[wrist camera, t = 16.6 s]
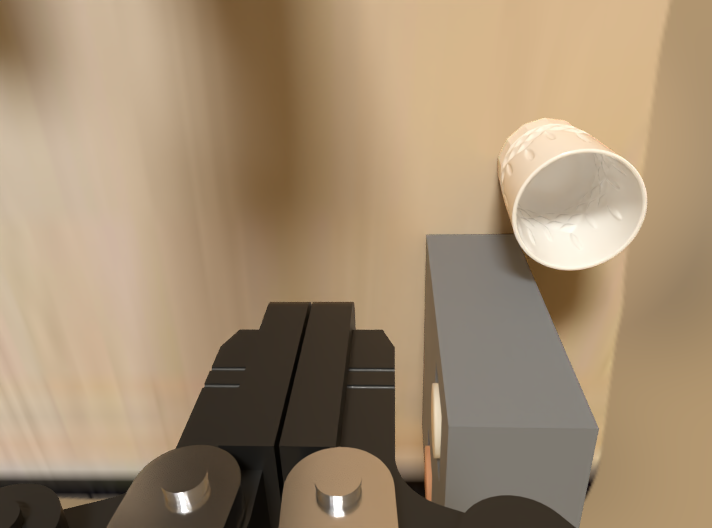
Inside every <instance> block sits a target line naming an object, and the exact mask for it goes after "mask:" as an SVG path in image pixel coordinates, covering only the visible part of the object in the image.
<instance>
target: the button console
mask: <svg viewBox="0 0 712 528" xmlns="http://www.w3.org/2000/svg"><path fill="white" fill-rule="evenodd" d="M432 383H438V385H439V395H440V405H441V414H442V423H441V447H440V458H434V457H433V448H432V430H431V392H432ZM422 429H423V446H424V463H425V446H430V455H431V469H432V496H431V502H434V503H436V504H439V505H442V506H445V507H448V508H451V509H454V510H458V511H461V512H464V513H465V512H466V511H467V510H468V509H469V508H470V507H471V506H473V505H474V504H475V503H477V502H479V501H481V500H483V499H486V498H489V497H494V496H500V495H513V496H521V497H525V498H529V499H532V500H535V501H537V502H540V503H542V504H544V505H546V506H548V507H550V508H551V509H553V510H554V511H555V512H557V513H558V514H560V515H561V516H562V517H563V518H565V519H566V520H567V521H568V522H570V523H571V524H572V525H573V526H574V527H576V528H579V525H580V520H581V515H582V510H583V505H584V500H585V495H586V490H587V485H588V480H589V475H590V470H591V465H592V460H593V455H594V450H595V445H596V440H597V435H598V430H599V428H598V426H597V423H596V421H595V419H594V416H593V414H592V412H591V409H590V407H589V405H588V402H587V400H586V398H585V395H584V393H583V391H582V389H581V386H580V384H579V382H578V379H577V377H576V375H575V372H574V370H573V368H572V365H571V363H570V361H569V358H568V356H567V354H566V351H565V349H564V347H563V345H562V342H561V340H560V338H559V335H558V333H557V331H556V328H555V326H554V324H553V321H552V319H551V317H550V314H549V312H548V310H547V307H546V305H545V303H544V301H543V298H542V296H541V294H540V291H539V289H538V287H537V284H536V282H535V280H534V277H533V275H532V273H531V270H530V268H529V266H528V263H527V261H526V259H525V256H524V254H523V252H522V250H521V247H520V245H519V243H518V241H517V239H516V237H515V234H464V235H426V277H425V322H424V367H423V413H422Z"/></svg>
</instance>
